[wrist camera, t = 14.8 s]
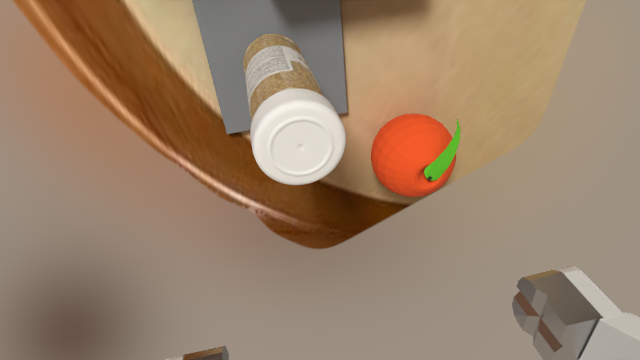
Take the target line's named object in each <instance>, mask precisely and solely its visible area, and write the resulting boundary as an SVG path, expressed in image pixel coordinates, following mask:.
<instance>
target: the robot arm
mask: <svg viewBox="0 0 640 360" xmlns="http://www.w3.org/2000/svg"><path fill="white" fill-rule="evenodd" d="M517 287H518V289H519V290H520V292H518V293H517V294H516V296H514V298H513V303H512V307H513V311H514V315H515V317H516V320H517V322H518V323H519V325H520V326H521V328H522V329H523V330H524V331H525V332H527V333H529V334H531V335H532V336H533V345H534V347H535V348H536V349H537V351H538V352H539V353H540V355H541V356H542V358H543V359H544V360H640V318H639V317H637V316H635V315H632V314H631V313H629V312H627V313H622V312H621V311H620V310H619V309H618V308H617V307H616V306H615V305H614V304H613V303H612V302H611V301H610V300H609V299H608V298H607V297H606V296H605V295H604V294H603V293H602V291H601V290H600V289H598V288H597V286H596V285H595V284H593V282H592V281H591V280H590V279H589V278H588V277H587V276H586V275H585V274H584V273H583V272H582V271H581V270H580V269H578V268H577V267H575V266H569V267H566V268H561V269H557V270H551V271H547V272H543V273H539V274H535V275H530V276H527V277H522V278H521V279H520V280H519V281H518V284H517ZM165 360H229V354H228V351H227V348H226V346H222V347H218V348H213V349H209V350H205V351H199V352H195V353H190V354H184V355H180V356H176V357H171V358H167V359H165Z"/></svg>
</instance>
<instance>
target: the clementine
mask: <svg viewBox="0 0 640 360" xmlns="http://www.w3.org/2000/svg"><path fill="white" fill-rule="evenodd" d="M459 140H460V127H459V123H458V120H457V130H456V133H455V136H454V137H453V138H452V136H451V135H450V133H449V131H448V130H447V129H446V128H445V127H444V126H443V124H441V123H440V122H438V121H437V120H435V119H433V118H431V117H429V116H426V115H421V114H406V115H402V116H399V117H396V118H394V119H393V120H391V121H389V122H388V123H387V124H386V125H384V126H383V127H382V128H381V129H380V131H379V132H378V134H377V135H376V137H375V140H374V142H373V145H372V151H371V161H372V166H373V169H374V173H375V174H376V176H377V178H378V179H379V181H380V182H381V183H382V184H383V185H384V186H385V187H386V188H388V189H389V190H390V191H393V192H395V193H397V194H400V195H402V196H408V197H416V196H424V195H427V194H430V193H432V192H434V191H436V190H438V189H439V188H440V187H441V186H442V185H444V184H445V182H446V181H447V180H448V179H449V177H450V175H451V173H452V171H453V169H454V166H455V161H456V150H457V147H458V144H459Z"/></svg>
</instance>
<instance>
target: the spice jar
mask: <svg viewBox="0 0 640 360" xmlns="http://www.w3.org/2000/svg"><path fill="white" fill-rule="evenodd" d="M243 68H244V73H245V75H246V86H247V95H248V103H249V111H250V115H251V118H252V123H251V129H250V135H251V144H252V149H253V154H254V157H255V160H256V162H257V164H258V165H259V167H260V168H261V170H262V171H263V172H264V173H265V174H266V175H268V176H269V177H270V178H272V179H274V180H276V181H278V182H281V183H284V184H290V185H303V184H308V183H312V182H315V181H317V180H319V179H321V178H323V177H325V176H326V175H328V174H329V173H330V172H331V171H332V170H333V169H334V168H335V167H336V166H337V164H338V163H339V161H340V160H341V158H342V155H343V153H344V150H345V144H346V134H345V129H344V126H343V124H342V121H341V119H340V117H339V115H338V114H337V112H336V110H335V109H334V107H333V106H332V104H331V103H330V102H329V101H328V100H327V99H326V98H325V97H324V96H323V94H322V92H321V90H320V87H319V85H318V83H317V81H316V79H315V77H314V75H313V74H312V72H311V70H310V68H309V66H308V64H307V63H306V61H305V59H304V58H303V55H302V52H301V50H300V49H299V47H298V46H297V44H296V43H295V42H294V41H293V40H291V39H290V38H288V37H286V36H284V35H280V34H264V35H262V36H260V37H258V38H256V39H255V40H254V41H253V42H251V44H250V45H249V46H248V48H247V49H246V52H245V55H244V59H243Z"/></svg>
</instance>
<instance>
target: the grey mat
mask: <svg viewBox="0 0 640 360" xmlns="http://www.w3.org/2000/svg"><path fill="white" fill-rule="evenodd" d="M192 2H193V5H194V9H195V13H196V17H197V21H198V25H199V28H200V32H201V36H202V40H203V44H204V48H205V51H206V55H207V59H208V63H209V67H210V71H211V74H212V78H213V82H214V86H215V90H216V94H217V97H218V101H219V105H220V109H221V113H222V117H223V120H224V124H225V128H226V132H227V134H231V133H236V132H242V131H247V130H250V129H251V123H252V118H251V115H250V111H249V103H248V95H247V86H246V75H245V73H244V68H243V59H244V55H245V52H246V49H247V48H248V46H249V45H250V44H251V42H253V41H254V40H255V39H256V38H258V37H260V36H262V35H264V34H280V35H284V36H286V37H288V38H290V39H291V40H293V41H294V42H295V43H296V44H297V46H298V47H299V49H300V50H301V52H302V55H303V58H304V59H305V61H306V63H307V64H308V66H309V68H310V70H311V72H312V74H313V75H314V77H315V79H316V81H317V83H318V85H319V87H320V90H321V92H322V94H323V96H324V97H325V98H326V99H327V100H328V101H329V102H330V103H331V104H332V106H333V107H334V109H335V110H336V112H337V114H342V113H347V100H346V85H345V69H344V54H343V39H342V24H341V9H340V0H193V1H192Z"/></svg>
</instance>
